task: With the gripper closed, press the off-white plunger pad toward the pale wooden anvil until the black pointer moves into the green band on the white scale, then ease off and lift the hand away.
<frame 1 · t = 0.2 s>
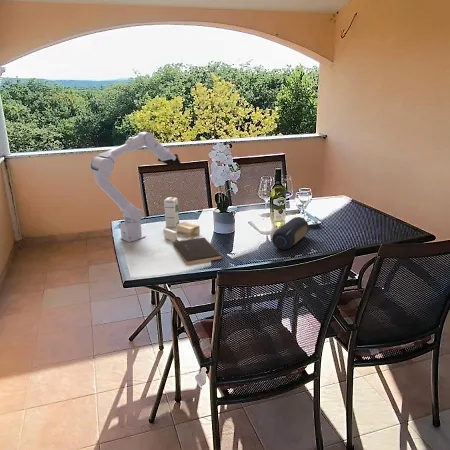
hand: (175, 165, 217), 31 cm above the table, tool tilted 50°, fingers open, 7 cm apart
syrup box: (172, 225, 226), on the table
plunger: (173, 234, 204), point 3 cm above the table, slide at 0.0 cm
portable speaker: (291, 243, 200), on the table
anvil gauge: (180, 236, 210), on the table
hardcover book: (196, 253, 191), on the table
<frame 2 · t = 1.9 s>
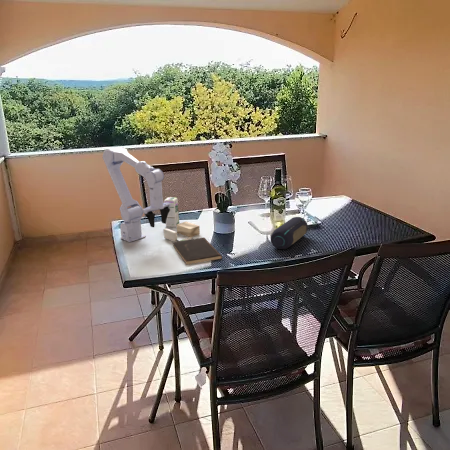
hand: (158, 224, 198), 9 cm above the table, tool pointing down, fingers open, 6 cm apart
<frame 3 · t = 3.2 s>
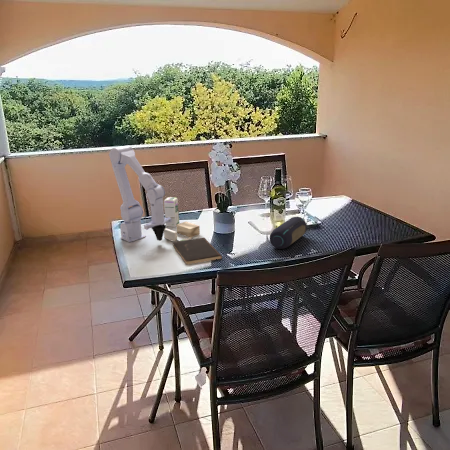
hand: (159, 240, 200), 2 cm above the table, tool pointing down, fingers closed
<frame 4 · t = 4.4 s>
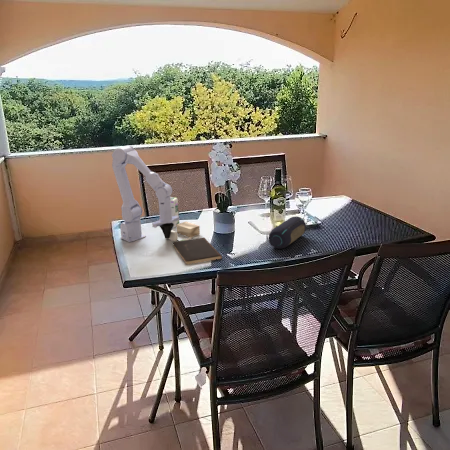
hand: (167, 237, 203), 2 cm above the table, tool pointing down, fingers closed
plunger: (174, 234, 205), point 3 cm above the table, slide at 0.2 cm, touching gripper
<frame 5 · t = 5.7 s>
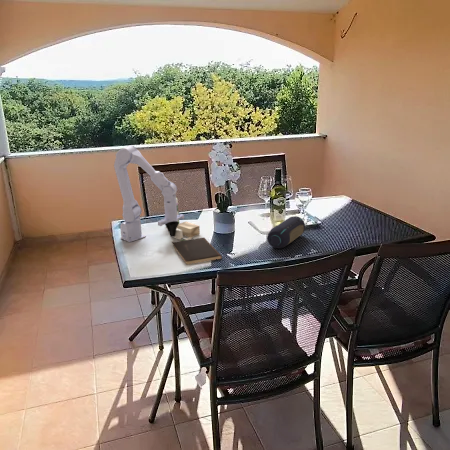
hand: (172, 236, 206), 2 cm above the table, tool pointing down, fingers closed
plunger: (179, 233, 207), point 3 cm above the table, slide at 3.4 cm, touching gripper
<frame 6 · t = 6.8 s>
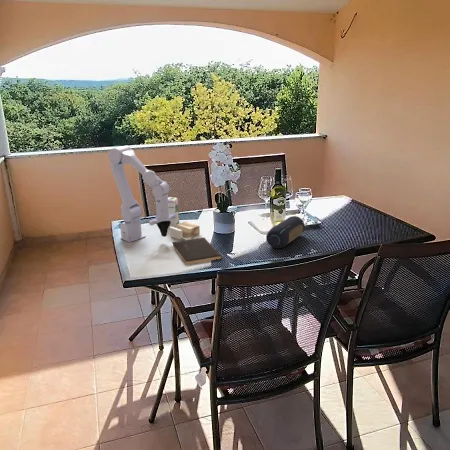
hand: (164, 235, 202), 3 cm above the table, tool pointing down, fingers closed
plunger: (179, 233, 207), point 3 cm above the table, slide at 3.4 cm
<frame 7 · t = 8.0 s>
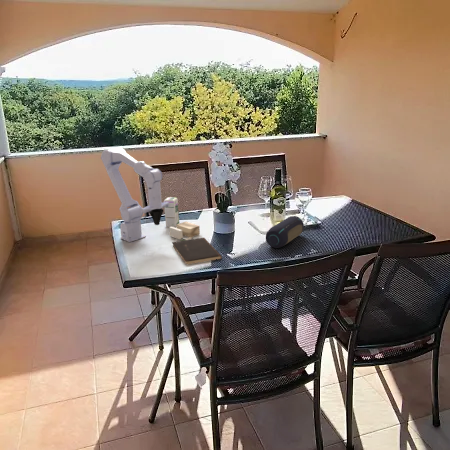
hand: (156, 224, 198), 9 cm above the table, tool pointing down, fingers closed
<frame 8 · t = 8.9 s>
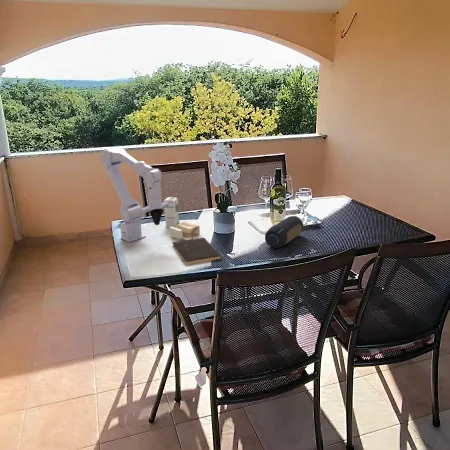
hand: (156, 224, 198), 9 cm above the table, tool pointing down, fingers closed
at the end: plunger slide at 3.4 cm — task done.
